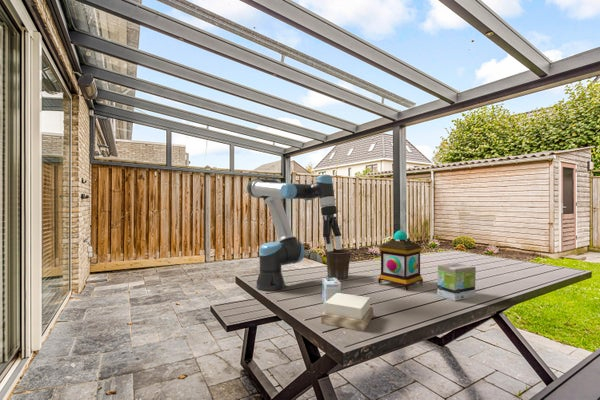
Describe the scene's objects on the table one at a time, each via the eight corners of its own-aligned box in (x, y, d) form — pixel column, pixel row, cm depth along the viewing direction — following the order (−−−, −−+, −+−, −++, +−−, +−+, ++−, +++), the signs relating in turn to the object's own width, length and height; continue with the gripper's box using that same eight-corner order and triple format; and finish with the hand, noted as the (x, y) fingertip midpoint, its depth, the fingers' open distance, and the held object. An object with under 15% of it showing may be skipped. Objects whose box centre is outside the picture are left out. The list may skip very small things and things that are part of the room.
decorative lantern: (407, 292, 151) (407, 232, 151) (374, 284, 166) (374, 230, 166) (426, 285, 164) (426, 230, 164) (394, 278, 179) (394, 227, 179)
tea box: (455, 301, 137) (455, 269, 137) (436, 295, 146) (436, 265, 146) (476, 297, 144) (476, 266, 144) (456, 291, 153) (456, 262, 153)
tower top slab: (324, 313, 114) (324, 302, 114) (336, 302, 126) (336, 292, 126) (360, 319, 108) (361, 308, 108) (369, 307, 120) (369, 297, 120)
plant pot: (353, 281, 172) (353, 252, 172) (325, 280, 173) (325, 252, 173) (349, 274, 189) (349, 248, 189) (323, 274, 189) (323, 248, 189)
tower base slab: (321, 324, 113) (321, 314, 113) (335, 310, 127) (335, 301, 127) (363, 332, 106) (363, 321, 106) (373, 317, 121) (373, 307, 121)
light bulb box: (321, 300, 138) (321, 277, 138) (336, 300, 139) (336, 277, 139) (325, 309, 128) (325, 283, 128) (341, 308, 128) (341, 283, 128)
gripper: (327, 203, 133) (334, 251, 130) (342, 207, 156) (349, 247, 153) (311, 205, 136) (318, 253, 133) (329, 209, 159) (335, 249, 156)
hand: (334, 250), depth 143 cm, fingers open, 13 cm apart
